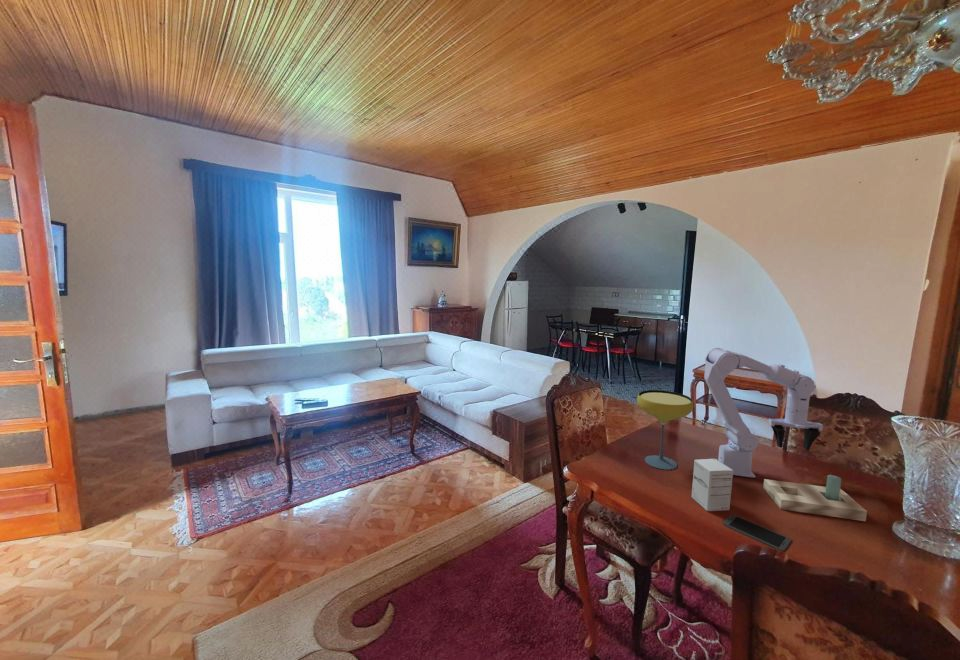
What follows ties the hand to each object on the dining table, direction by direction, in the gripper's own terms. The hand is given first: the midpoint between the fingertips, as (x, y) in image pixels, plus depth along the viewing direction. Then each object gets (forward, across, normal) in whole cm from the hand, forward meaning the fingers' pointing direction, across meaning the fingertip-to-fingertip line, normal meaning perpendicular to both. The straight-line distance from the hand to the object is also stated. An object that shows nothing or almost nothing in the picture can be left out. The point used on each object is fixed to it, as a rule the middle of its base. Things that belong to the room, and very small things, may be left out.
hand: (792, 447), depth 129 cm
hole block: (+10, -2, -18) cm, 21 cm away
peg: (+10, +3, -18) cm, 21 cm away
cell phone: (+10, -23, -38) cm, 46 cm away
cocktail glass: (+10, -41, -3) cm, 42 cm away
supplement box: (+10, -31, -27) cm, 42 cm away
